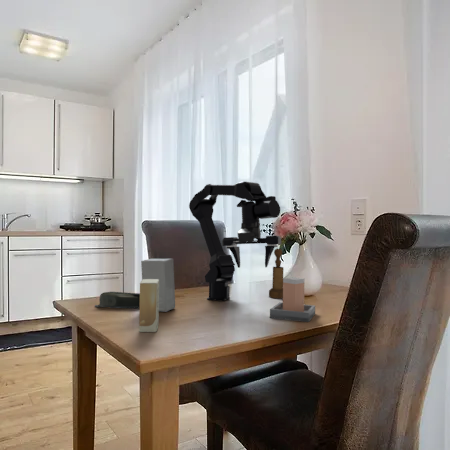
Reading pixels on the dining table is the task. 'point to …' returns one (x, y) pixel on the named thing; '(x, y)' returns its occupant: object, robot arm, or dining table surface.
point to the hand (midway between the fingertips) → (252, 267)
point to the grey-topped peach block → (293, 294)
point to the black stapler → (119, 300)
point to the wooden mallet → (277, 277)
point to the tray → (292, 313)
